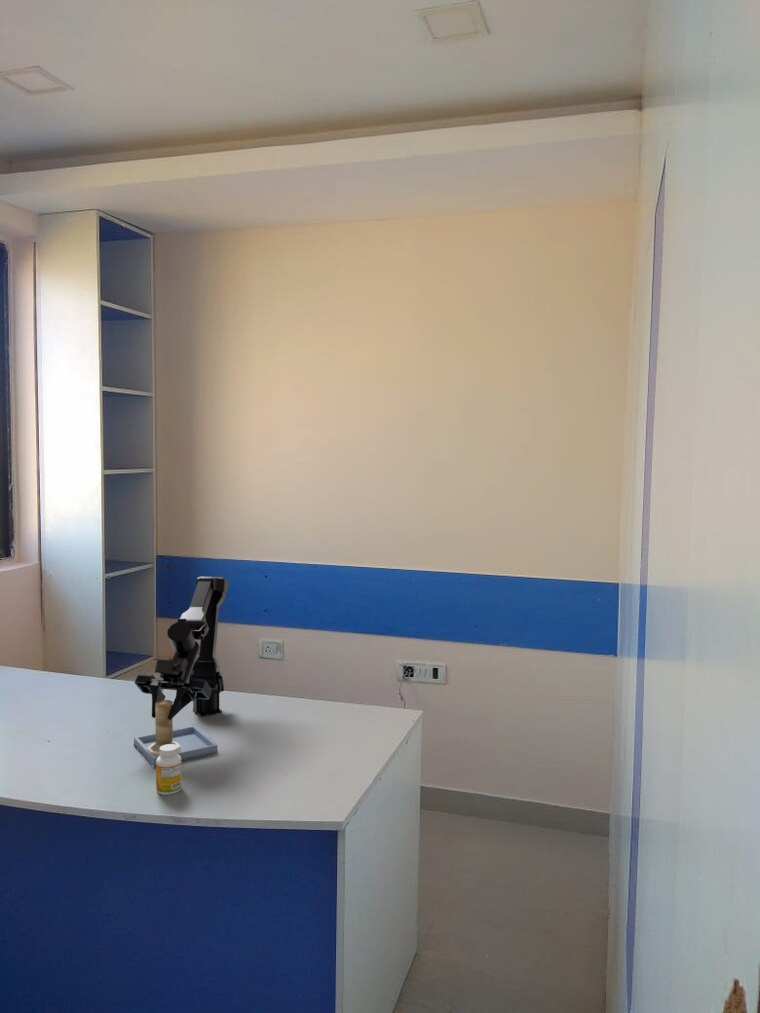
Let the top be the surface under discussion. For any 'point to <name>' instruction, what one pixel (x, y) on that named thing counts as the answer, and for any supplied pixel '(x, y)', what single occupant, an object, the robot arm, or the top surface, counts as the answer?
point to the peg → (163, 723)
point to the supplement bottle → (168, 770)
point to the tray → (178, 744)
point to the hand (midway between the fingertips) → (161, 718)
